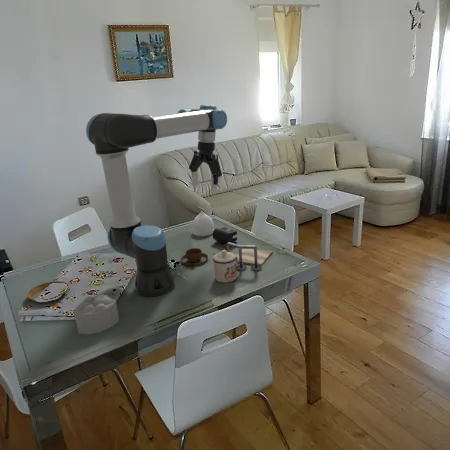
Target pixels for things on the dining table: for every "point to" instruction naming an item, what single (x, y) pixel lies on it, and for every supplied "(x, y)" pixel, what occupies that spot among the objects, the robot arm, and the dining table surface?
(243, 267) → the bent rail
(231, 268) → the teacup with lid
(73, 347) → the dining table surface
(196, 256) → the place setting
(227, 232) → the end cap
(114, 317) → the lumpy-topped squat cylinder
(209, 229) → the teardrop
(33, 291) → the plant saucer
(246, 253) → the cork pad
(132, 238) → the robot arm
